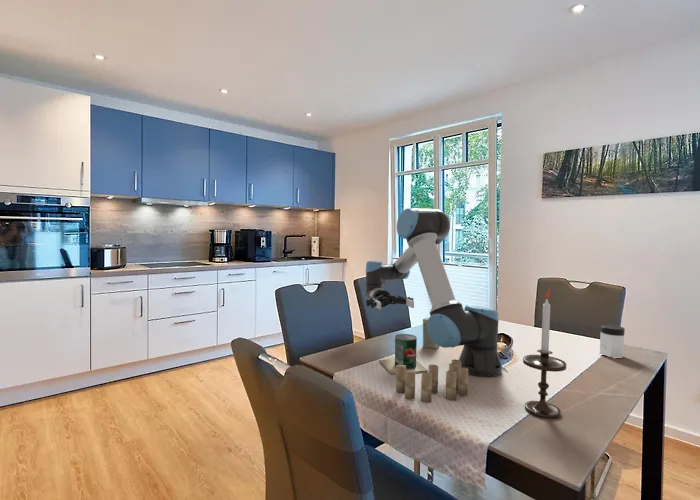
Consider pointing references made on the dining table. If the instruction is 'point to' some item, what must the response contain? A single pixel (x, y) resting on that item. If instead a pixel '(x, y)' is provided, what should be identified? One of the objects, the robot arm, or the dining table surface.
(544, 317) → the candlestick
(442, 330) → the robot arm
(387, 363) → the cork trivet
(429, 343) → the skincare box
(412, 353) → the canned tomato
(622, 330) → the jar
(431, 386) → the dowel field
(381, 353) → the dining table surface
